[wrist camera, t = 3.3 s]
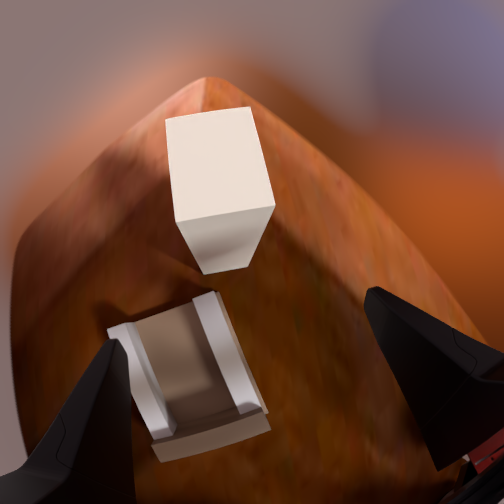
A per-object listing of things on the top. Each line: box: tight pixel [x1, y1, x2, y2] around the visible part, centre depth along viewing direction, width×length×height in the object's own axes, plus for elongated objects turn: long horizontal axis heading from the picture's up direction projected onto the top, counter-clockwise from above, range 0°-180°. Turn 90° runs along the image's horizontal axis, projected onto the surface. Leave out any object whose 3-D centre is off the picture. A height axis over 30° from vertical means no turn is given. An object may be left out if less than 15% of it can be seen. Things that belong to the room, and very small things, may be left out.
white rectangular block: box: [165, 107, 275, 275], centre depth 16 cm, size 4×3×13 cm
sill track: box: [107, 291, 271, 462], centre depth 19 cm, size 10×9×4 cm
